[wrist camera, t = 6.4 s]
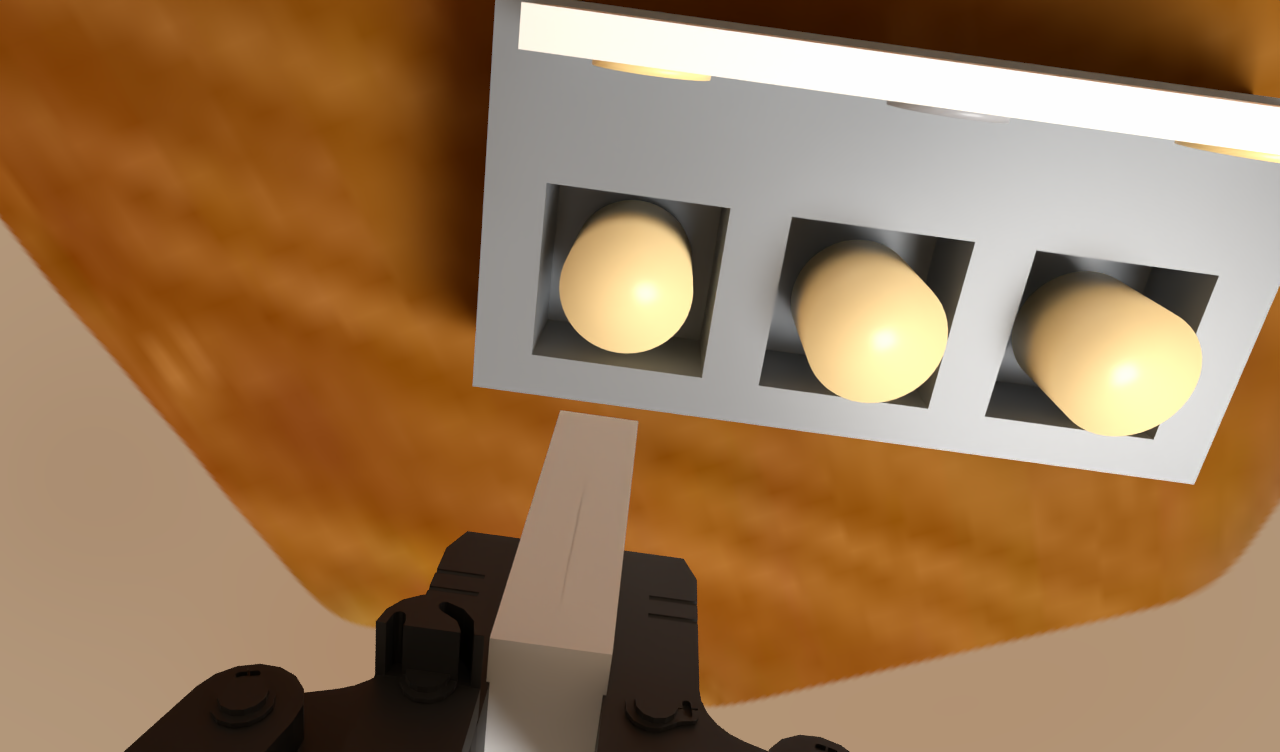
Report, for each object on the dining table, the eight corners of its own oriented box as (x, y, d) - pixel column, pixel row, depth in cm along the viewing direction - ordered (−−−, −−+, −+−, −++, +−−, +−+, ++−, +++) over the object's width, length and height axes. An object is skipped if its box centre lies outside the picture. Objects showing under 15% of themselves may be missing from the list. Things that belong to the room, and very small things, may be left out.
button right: (996, 379, 32) (1037, 426, 28) (1032, 263, 30) (1081, 297, 26) (1115, 395, 32) (1171, 445, 28) (1158, 280, 30) (1224, 317, 26)
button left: (567, 307, 33) (553, 344, 29) (579, 192, 31) (566, 215, 28) (682, 322, 33) (682, 361, 29) (700, 209, 31) (702, 234, 28)
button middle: (780, 349, 32) (792, 393, 28) (804, 231, 30) (820, 261, 26) (899, 365, 32) (927, 411, 28) (929, 248, 30) (964, 281, 26)
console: (500, 338, 35) (416, 483, 24) (524, -7, 30) (433, -21, 19) (1127, 423, 36) (1328, 606, 25) (1254, 95, 31) (1577, 139, 20)
